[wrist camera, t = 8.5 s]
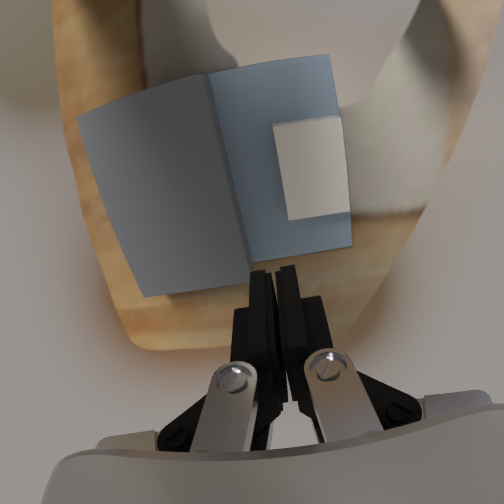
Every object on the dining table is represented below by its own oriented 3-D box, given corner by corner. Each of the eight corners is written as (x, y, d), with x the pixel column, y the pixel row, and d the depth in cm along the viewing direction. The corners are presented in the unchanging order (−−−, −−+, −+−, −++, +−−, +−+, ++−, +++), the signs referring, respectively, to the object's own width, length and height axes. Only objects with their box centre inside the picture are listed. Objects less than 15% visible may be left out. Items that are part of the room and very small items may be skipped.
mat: (208, 74, 25) (207, 74, 25) (327, 54, 24) (328, 54, 23) (252, 260, 35) (252, 262, 34) (351, 244, 33) (352, 245, 33)
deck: (95, 111, 26) (75, 117, 23) (208, 74, 25) (201, 72, 21) (153, 276, 36) (143, 297, 33) (252, 260, 35) (252, 281, 31)
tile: (340, 117, 25) (335, 115, 26) (272, 126, 25) (271, 123, 27) (350, 211, 29) (345, 203, 31) (288, 220, 30) (286, 212, 31)
